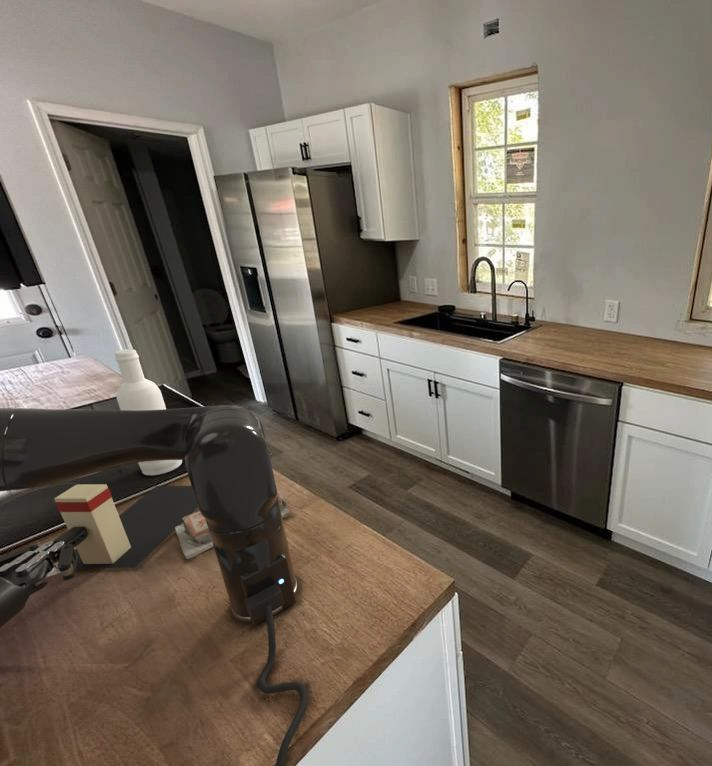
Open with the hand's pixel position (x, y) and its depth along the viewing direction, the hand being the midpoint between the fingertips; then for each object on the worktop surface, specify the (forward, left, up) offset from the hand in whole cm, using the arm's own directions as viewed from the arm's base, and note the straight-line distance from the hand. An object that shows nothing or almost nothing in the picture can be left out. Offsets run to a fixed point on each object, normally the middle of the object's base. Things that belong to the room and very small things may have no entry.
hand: (81, 530), depth 70 cm
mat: (+8, -8, -8) cm, 14 cm away
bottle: (+31, -14, -8) cm, 35 cm away
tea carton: (+2, -2, -8) cm, 8 cm away
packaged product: (-5, -20, -8) cm, 22 cm away
